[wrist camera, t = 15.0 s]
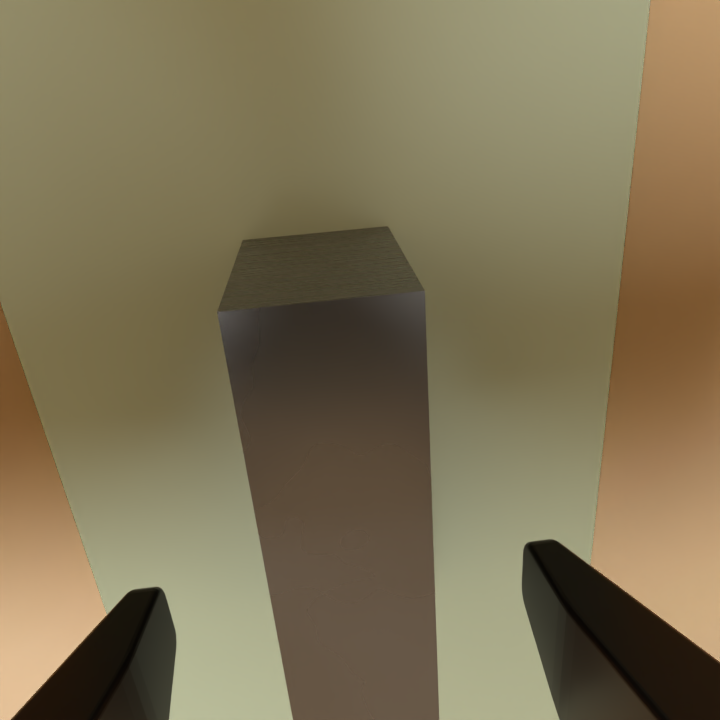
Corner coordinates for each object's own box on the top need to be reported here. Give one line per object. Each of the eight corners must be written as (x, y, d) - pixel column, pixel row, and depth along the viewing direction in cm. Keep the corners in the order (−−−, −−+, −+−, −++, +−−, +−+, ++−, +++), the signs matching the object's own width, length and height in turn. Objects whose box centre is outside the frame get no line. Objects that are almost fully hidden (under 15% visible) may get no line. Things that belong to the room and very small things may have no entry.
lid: (667, -452, 8) (1015, -957, 4) (556, 756, 18) (625, 939, 14) (-206, -412, 7) (-760, -943, 3) (188, 806, 17) (156, 1010, 14)
